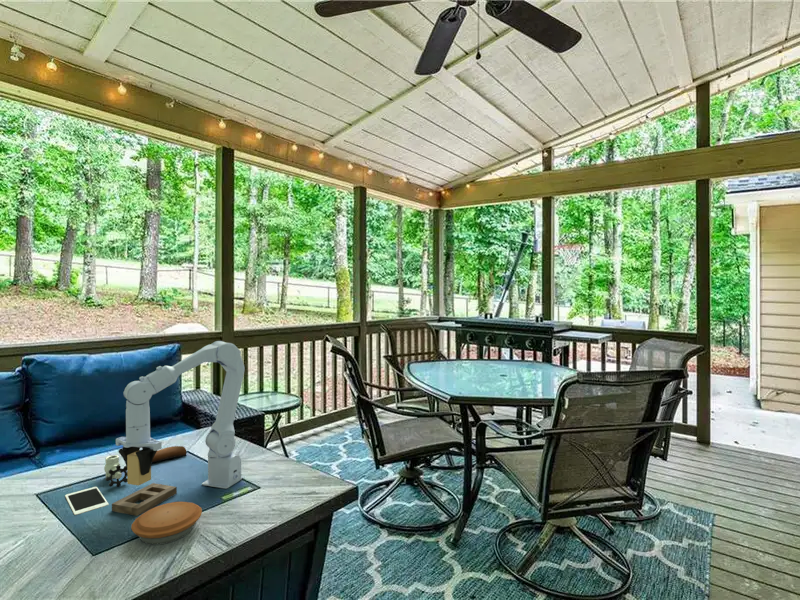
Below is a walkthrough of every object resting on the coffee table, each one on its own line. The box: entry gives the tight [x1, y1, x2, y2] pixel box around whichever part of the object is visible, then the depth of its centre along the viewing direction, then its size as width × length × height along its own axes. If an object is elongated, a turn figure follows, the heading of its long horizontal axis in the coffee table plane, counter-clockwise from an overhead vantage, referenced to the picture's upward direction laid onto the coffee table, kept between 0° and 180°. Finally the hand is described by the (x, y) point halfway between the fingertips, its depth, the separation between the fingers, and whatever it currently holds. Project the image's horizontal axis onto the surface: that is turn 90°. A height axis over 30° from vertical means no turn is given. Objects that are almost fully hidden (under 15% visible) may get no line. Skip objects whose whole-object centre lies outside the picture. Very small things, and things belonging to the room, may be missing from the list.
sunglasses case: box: [152, 445, 187, 463], centre depth 151 cm, size 18×7×7 cm
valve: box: [103, 454, 128, 488], centre depth 135 cm, size 7×7×12 cm
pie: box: [131, 501, 203, 546], centre depth 106 cm, size 15×16×5 cm
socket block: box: [111, 482, 178, 517], centre depth 121 cm, size 9×13×2 cm
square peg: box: [126, 451, 152, 487], centre depth 119 cm, size 4×4×8 cm
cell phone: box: [64, 486, 110, 516], centre depth 122 cm, size 8×16×1 cm, turn 46°
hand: (138, 472), depth 119 cm, fingers closed on square peg, 4 cm apart
